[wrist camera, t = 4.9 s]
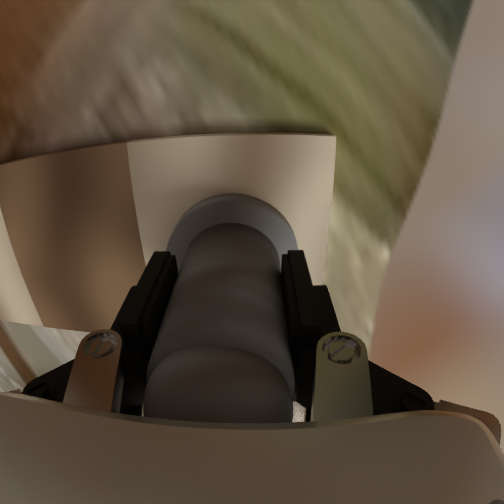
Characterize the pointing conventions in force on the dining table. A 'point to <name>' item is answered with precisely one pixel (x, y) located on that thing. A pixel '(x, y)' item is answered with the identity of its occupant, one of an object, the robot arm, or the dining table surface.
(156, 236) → the game board
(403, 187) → the dining table surface
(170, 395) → the pawn
